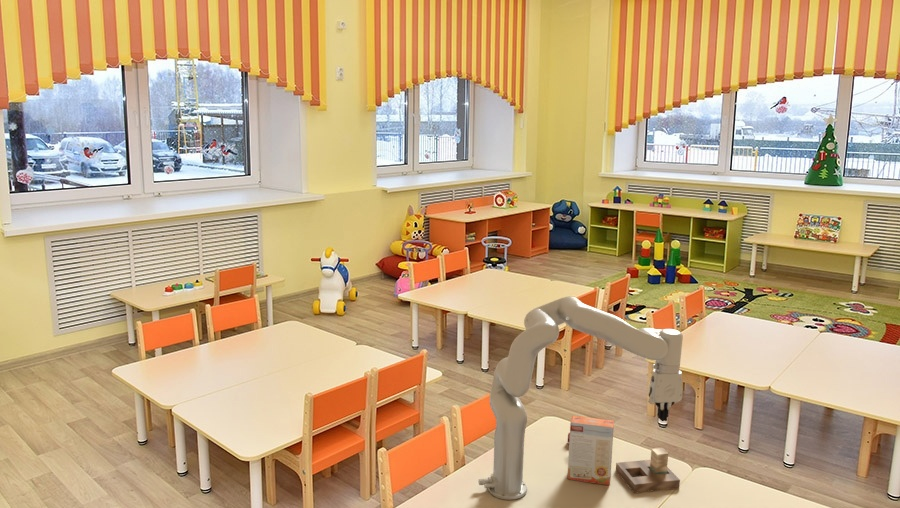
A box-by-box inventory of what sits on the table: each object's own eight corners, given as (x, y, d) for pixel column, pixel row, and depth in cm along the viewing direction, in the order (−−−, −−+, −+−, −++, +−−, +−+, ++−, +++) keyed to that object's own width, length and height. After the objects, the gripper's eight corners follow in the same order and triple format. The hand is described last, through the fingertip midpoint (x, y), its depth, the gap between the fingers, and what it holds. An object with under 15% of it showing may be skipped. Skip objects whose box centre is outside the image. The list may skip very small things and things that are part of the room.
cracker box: (610, 477, 238) (614, 419, 234) (609, 486, 232) (613, 427, 228) (568, 470, 242) (572, 414, 237) (566, 479, 236) (570, 421, 231)
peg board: (634, 492, 229) (634, 484, 228) (615, 470, 242) (616, 462, 241) (679, 488, 232) (679, 479, 231) (658, 466, 245) (659, 458, 245)
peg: (654, 482, 235) (657, 454, 233) (649, 475, 239) (651, 448, 237) (666, 480, 236) (668, 453, 234) (660, 474, 240) (662, 447, 238)
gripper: (651, 372, 224) (646, 426, 228) (694, 370, 227) (688, 422, 231) (640, 364, 231) (636, 415, 235) (682, 361, 234) (677, 413, 238)
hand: (662, 419), depth 233 cm, fingers closed
